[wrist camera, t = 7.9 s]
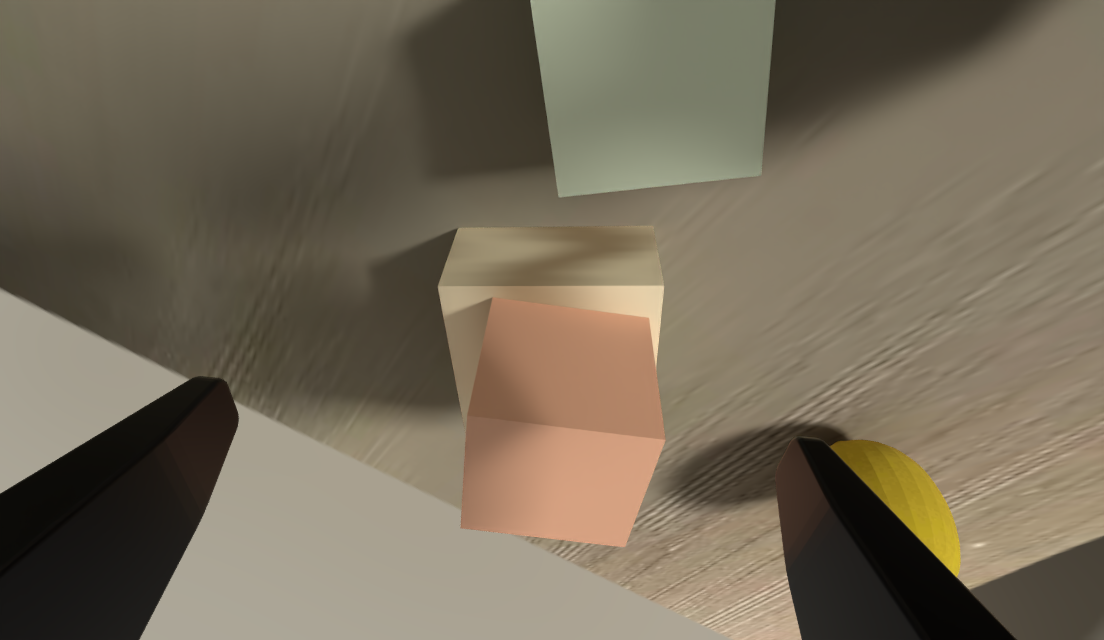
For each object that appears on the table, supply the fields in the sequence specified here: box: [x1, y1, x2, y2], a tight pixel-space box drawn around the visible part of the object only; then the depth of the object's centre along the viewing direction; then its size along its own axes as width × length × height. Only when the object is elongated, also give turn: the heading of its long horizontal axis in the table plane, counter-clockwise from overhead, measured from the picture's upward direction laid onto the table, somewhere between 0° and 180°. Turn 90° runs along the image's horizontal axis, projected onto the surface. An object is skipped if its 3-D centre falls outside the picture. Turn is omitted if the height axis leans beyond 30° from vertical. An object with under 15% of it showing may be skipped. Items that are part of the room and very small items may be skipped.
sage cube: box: [530, 0, 776, 197], centre depth 15 cm, size 5×5×5 cm
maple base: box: [438, 226, 664, 434], centre depth 22 cm, size 7×7×4 cm
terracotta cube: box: [461, 297, 666, 547], centre depth 18 cm, size 5×5×5 cm
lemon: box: [830, 440, 961, 577], centre depth 24 cm, size 6×6×8 cm
